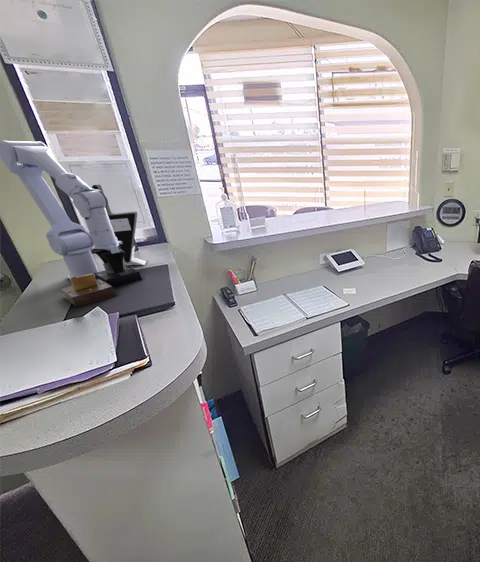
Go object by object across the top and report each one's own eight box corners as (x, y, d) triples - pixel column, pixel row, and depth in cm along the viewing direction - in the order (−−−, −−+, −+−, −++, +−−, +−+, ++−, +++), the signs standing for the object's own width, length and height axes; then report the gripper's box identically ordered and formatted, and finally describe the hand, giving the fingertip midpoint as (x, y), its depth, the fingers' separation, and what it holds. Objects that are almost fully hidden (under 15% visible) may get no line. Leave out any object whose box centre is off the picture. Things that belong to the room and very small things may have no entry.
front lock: (96, 284, 92) (91, 272, 91) (97, 284, 92) (93, 273, 90) (74, 289, 88) (69, 277, 87) (75, 290, 88) (70, 278, 86)
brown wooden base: (64, 298, 91) (59, 288, 90) (102, 287, 98) (99, 278, 97) (75, 307, 84) (71, 297, 83) (116, 295, 91) (112, 285, 90)
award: (101, 271, 113) (68, 186, 102) (105, 267, 118) (74, 185, 107) (150, 264, 120) (124, 183, 109) (152, 260, 124) (128, 182, 113)
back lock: (107, 274, 100) (103, 263, 99) (106, 273, 101) (102, 263, 100) (126, 270, 104) (122, 259, 103) (124, 269, 105) (121, 258, 103)
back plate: (96, 281, 103) (93, 272, 102) (128, 273, 110) (125, 264, 109) (109, 288, 97) (105, 279, 96) (142, 279, 104) (139, 270, 103)
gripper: (124, 230, 96) (138, 271, 101) (109, 226, 104) (122, 264, 109) (96, 234, 91) (112, 277, 96) (82, 230, 99) (97, 269, 104)
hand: (116, 271), depth 102 cm, fingers open, 6 cm apart
